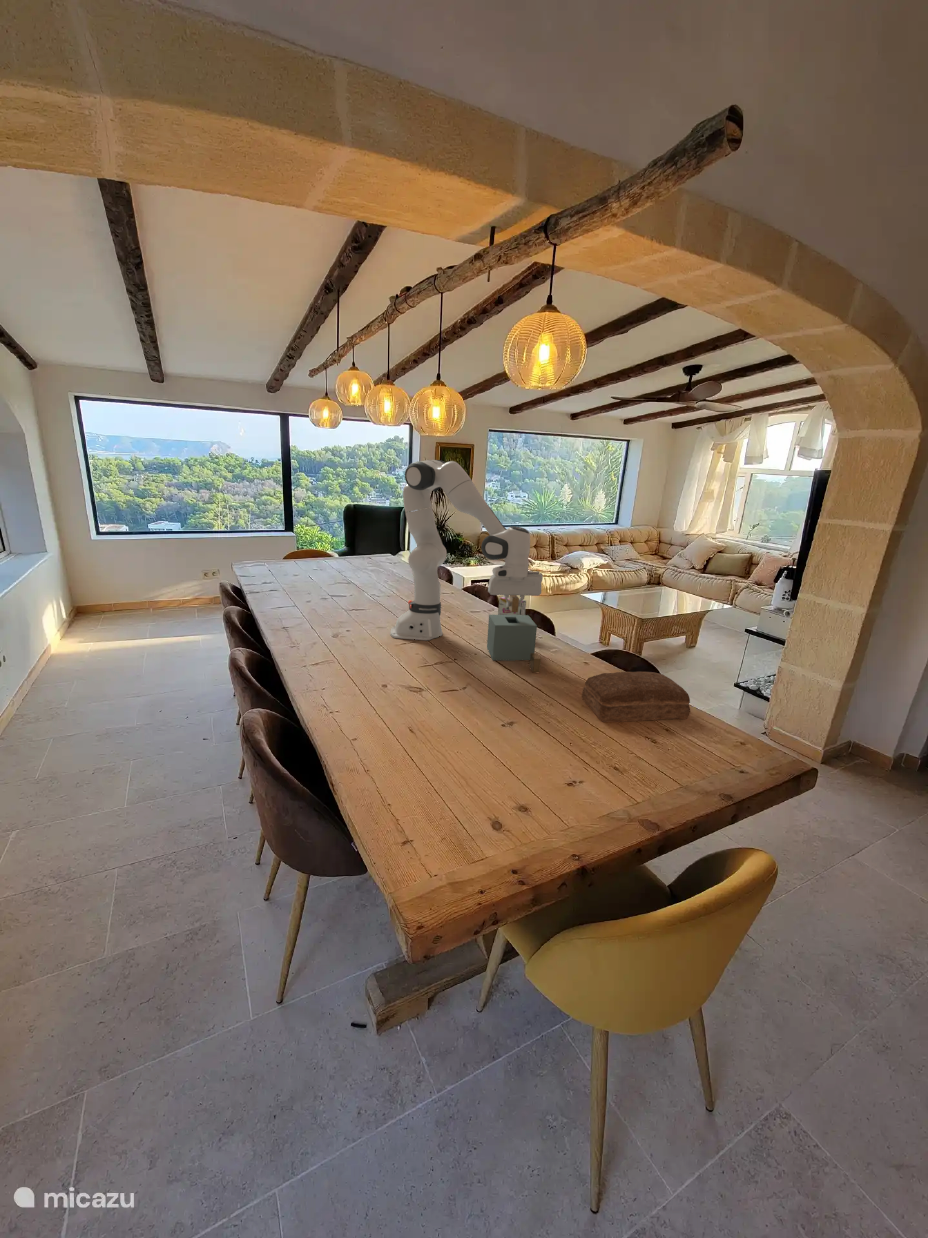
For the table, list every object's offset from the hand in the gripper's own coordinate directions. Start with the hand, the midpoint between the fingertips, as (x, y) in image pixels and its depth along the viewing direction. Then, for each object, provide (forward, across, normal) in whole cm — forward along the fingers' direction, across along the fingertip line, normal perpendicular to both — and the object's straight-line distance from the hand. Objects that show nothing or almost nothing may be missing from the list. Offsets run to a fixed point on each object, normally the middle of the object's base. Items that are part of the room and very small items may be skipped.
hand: (513, 606), depth 188 cm
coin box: (+20, 0, 0) cm, 20 cm away
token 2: (+20, -6, +16) cm, 26 cm away
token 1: (+2, 0, 0) cm, 2 cm away
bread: (+20, -30, +47) cm, 59 cm away
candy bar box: (+20, -5, -24) cm, 32 cm away
